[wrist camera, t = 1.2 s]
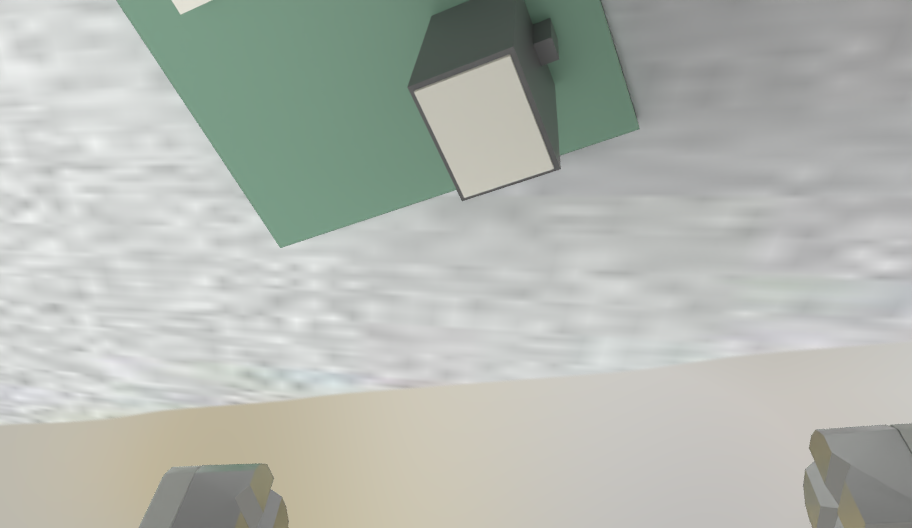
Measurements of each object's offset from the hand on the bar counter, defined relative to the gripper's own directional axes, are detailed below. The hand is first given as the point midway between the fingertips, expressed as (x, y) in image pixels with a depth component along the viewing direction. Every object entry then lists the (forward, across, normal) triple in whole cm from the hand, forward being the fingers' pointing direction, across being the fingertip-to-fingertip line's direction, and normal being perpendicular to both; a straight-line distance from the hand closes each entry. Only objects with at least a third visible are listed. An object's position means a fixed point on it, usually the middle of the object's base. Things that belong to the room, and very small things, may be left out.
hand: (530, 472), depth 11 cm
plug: (+26, +1, +2) cm, 26 cm away
